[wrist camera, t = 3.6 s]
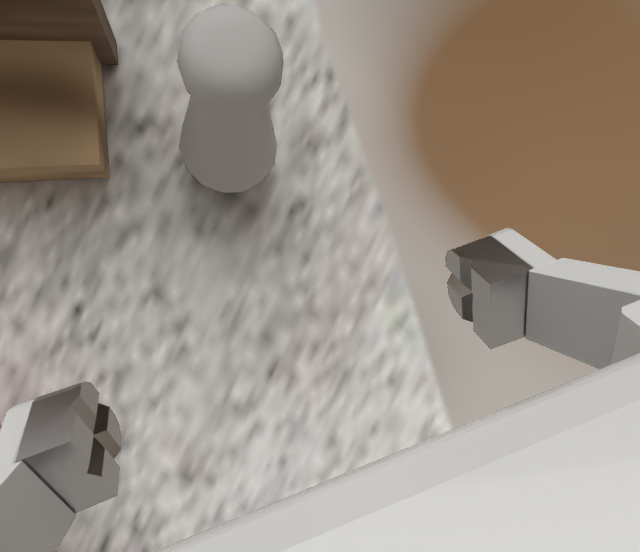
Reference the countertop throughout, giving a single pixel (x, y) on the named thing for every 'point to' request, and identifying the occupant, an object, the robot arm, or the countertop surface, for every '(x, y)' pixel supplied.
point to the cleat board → (53, 89)
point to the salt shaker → (229, 97)
